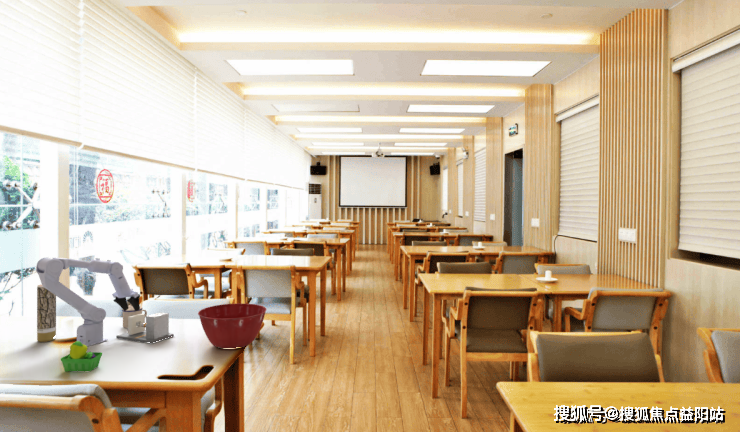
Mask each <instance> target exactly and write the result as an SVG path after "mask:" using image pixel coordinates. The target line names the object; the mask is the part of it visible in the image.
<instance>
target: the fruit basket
mask: <svg viewBox="0 0 740 432" xmlns="http://www.w3.org/2000/svg"><path fill="white" fill-rule="evenodd" d="M102 355H103V352H99V351H97V352H92V351H89V352H88V346H86V345H84V344H82V343H81V342H80V341H77V340H76V341H74V342H72V343H71V345H70V346H69V353H68V354H67V355H65V356H62V357H61V358H60V361H61V365H62V366H63V367H62V368H63V370H64V372H68V371H70V372H71V371H77V372H78V371H84V372H85V371H90V372H91V371H94V370H95V369H96V368H98V367H99V364H100V361H101V357H102ZM94 368H95V369H94ZM68 373H69V372H68Z"/></svg>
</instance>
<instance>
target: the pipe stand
mask: <svg viewBox="0 0 740 432" xmlns="http://www.w3.org/2000/svg"><path fill="white" fill-rule="evenodd" d="M169 317H170V315H169V312H157V313H152V314H149V315H147V316H146V317H145V323H141V322H136V326H140V327H145V330H146V338H147V339H153V340H155V339H158V338H161V337H164V336H167V335H169V333H170V332H169V331H170V330H169V322H170V321H169V320H170V318H169Z"/></svg>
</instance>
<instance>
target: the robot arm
mask: <svg viewBox="0 0 740 432" xmlns="http://www.w3.org/2000/svg"><path fill="white" fill-rule="evenodd" d="M69 268H79V269H80V268H81V269H87V270H88V271H89V272H90V273H95V274H96V273H98V274H106V275H108V277H109V279H110V281H111V284H112V286H113V288H114V290H115V292H114V293H112V297H113V298H114V299H113V302H114V303H115V304H117V305H118V306H120V308H121V309H122V310H124V311H126V310H127V309H128V308H129V307H128V306H129V305H130V304H131V305H132V306H133V308H134V310H135V311H138V310H139V309H140V305H141V304H140V299H141V298H140V297H141V295H140V294H139V292H138V291H134V289H133V288H131V287H130V285H129V282H128V281H127V278H126V277H125V274H124V271H123V270H124V266H123V264H122V263H120V262H118V261H111V260H109V259H107V260H104V259H100V258H98V257H96V258H92V259H91V260H87V261H86V260H83V259H82V260H81V259H74V258H68V257H67V258H66V257H52V258H51V257H42V258H40V259H39V260H38V261H37V263H36V268H35V272H36V274H37V275H38V277H39V279H40V280H39V281H40V283H41V285H42V286H43V287H44V288H46V289H47V290H49V291H50V292H51V293H53V294H54V295H56V298H59V299H60V300H62V301H63V302H65V304H68V305H69V306H70V307H72V308H74V310H76V311H77V313H79V315H80V316H81V318H82V319H83V323H82V324H81V325H78V326H77V328H76V341H80V342H81V343H82V344H84V345H86V346H87V347H90V346H93V345H97V344H100V343H103V342H107V341H108V338H104V320H105V318H106V317H107V311H106V310H105V309H104V308H102V307H97V306H96V305H94V304H92V303H90V302H88V301H87V300H86V299H85V298H83V297H81V296H80V295H78V294H77V293H76V292H75V291H73V290H71V289H70V288H69V287H68V286H66V285H64V284H63V283H62V282H60V276H61V274H62V273H63V270H67V269H69ZM127 298H128V299H127ZM128 303H129V305H128Z"/></svg>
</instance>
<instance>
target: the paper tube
mask: <svg viewBox="0 0 740 432" xmlns="http://www.w3.org/2000/svg"><path fill="white" fill-rule="evenodd" d="M36 289H37V291H36V306H37V307H36V315H37V316H36V333H37V334H36V341H37V342H38V343H47V342H52V341H54V340H53V337H54V336H55V335H56V336H57V296H56V295H54V294H53V293H51V292H50V291H49V290H47V289H46V288H44V287H43V286H42V284H37V287H36Z"/></svg>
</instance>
